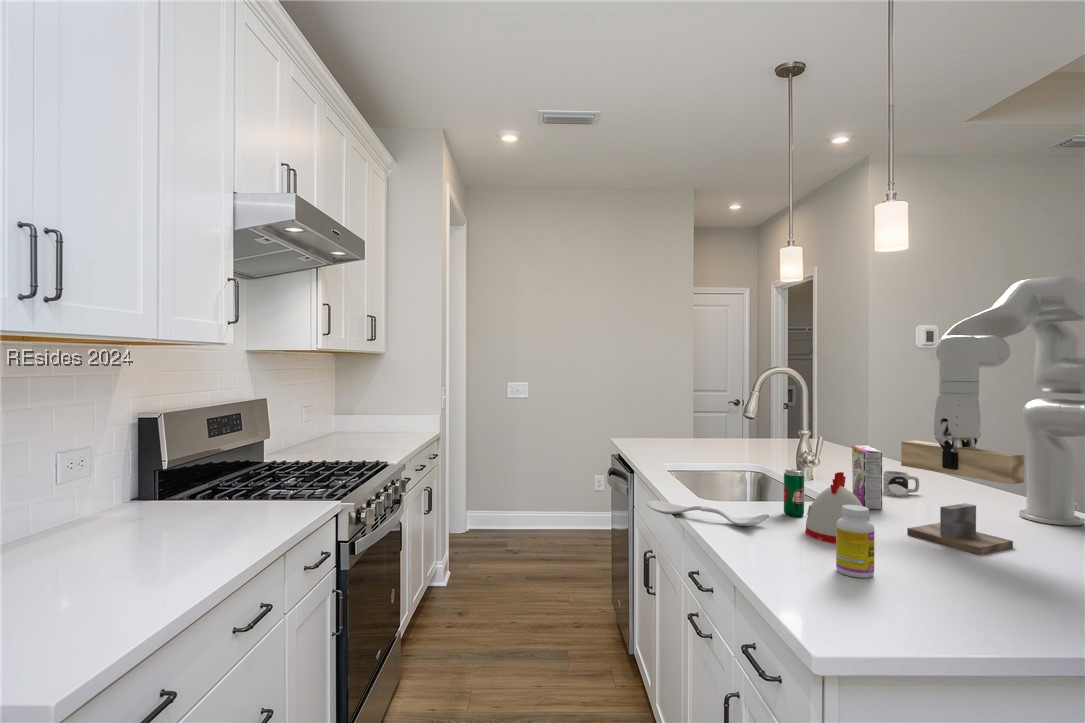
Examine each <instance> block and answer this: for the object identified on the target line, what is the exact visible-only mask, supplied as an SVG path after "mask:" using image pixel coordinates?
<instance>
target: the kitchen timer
mask: <svg viewBox="0 0 1085 723" xmlns="http://www.w3.org/2000/svg"><path fill="white" fill-rule="evenodd" d="M845 484H846V476H845V474H844V472H842V471H838V472H835V473H834V478H832V484H830V486H829V487H827V488H825V489H824V490H822V491H821V492H820V493H819V494H818V495H817V496H816V498H815V499H814V500H813V501H812V503H811V504H809V505H808V508H807V514H806V515H807V517H806V521H805V533H806V535H807V536H808V537H810V538H813V539H815V540H817V541H821V542H826V543H830V544H836V523H837V521H838V520H839V519H840V518H843V514H842V506H843V505H858V506H862V504H861V503H860V501H859V500H858V499H857V497H856V496H855V495H854V494H853V491H851V490H850V489H847V488H846V487H845ZM867 518H868V521H870V522H871V518H870V514H869V515H868V517H867Z"/></svg>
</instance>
